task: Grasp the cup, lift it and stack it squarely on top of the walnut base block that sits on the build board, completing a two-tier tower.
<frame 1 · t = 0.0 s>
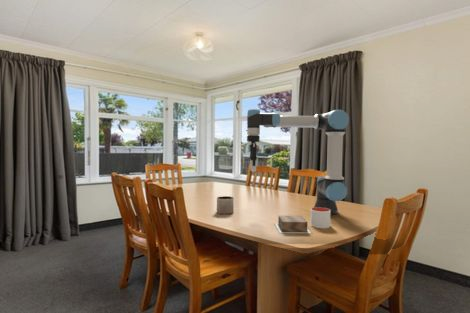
hand: (252, 170, 166), 28 cm above the table, fingers open, 13 cm apart
planter: (225, 212, 176), on the table
base block: (292, 228, 138), point 1 cm above the table, touching build board
cup: (320, 228, 144), on the table
build board: (292, 231, 138), on the table
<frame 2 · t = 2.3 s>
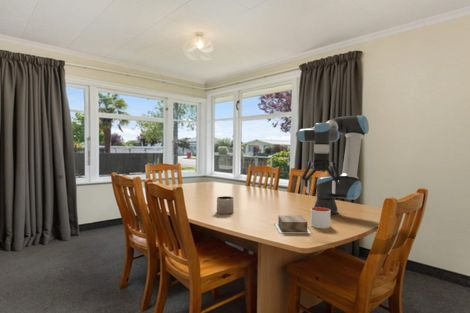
hand: (320, 193, 143), 18 cm above the table, fingers open, 13 cm apart
nothing on the table moved.
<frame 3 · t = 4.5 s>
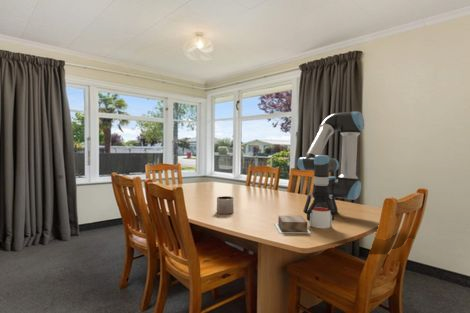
hand: (320, 226, 144), 1 cm above the table, fingers closed on cup, 10 cm apart
cup: (320, 228, 144), on the table, touching gripper
everything else where it was.
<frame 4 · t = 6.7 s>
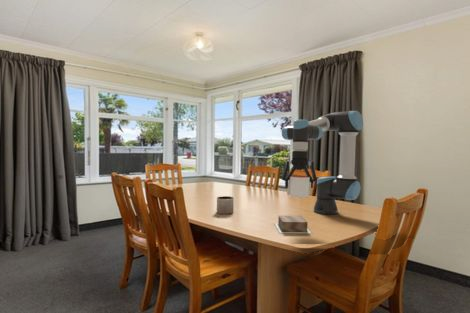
hand: (298, 194, 138), 19 cm above the table, fingers closed on cup, 10 cm apart
cup: (298, 196, 138), point 18 cm above the table, touching gripper
everything else where it was.
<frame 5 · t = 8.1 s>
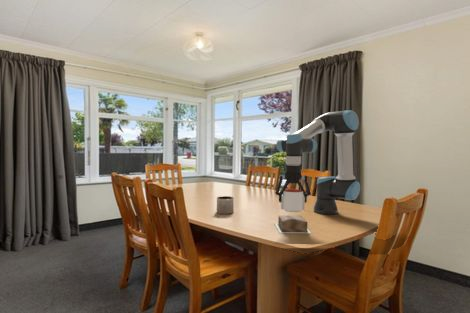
hand: (292, 208, 138), 11 cm above the table, fingers closed on cup, 10 cm apart
cup: (292, 210, 138), point 10 cm above the table, touching gripper
everything else where it was.
when the fingers open (9 cm above the table, at t = 9.2 s): cup drops 1 cm, resting on base block.
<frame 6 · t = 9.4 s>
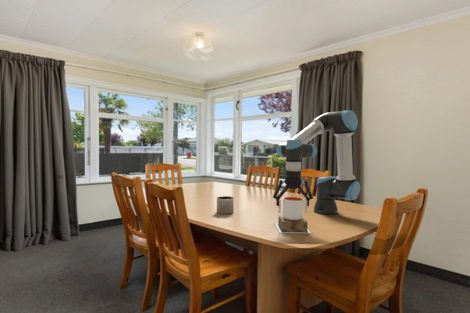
hand: (292, 212, 138), 10 cm above the table, fingers open, 12 cm apart
base block: (292, 228, 138), point 1 cm above the table, touching build board, cup
cup: (292, 218, 138), point 6 cm above the table, touching base block
everything else where it was.
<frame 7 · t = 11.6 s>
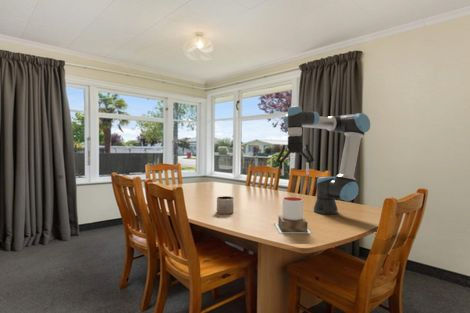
hand: (295, 174, 149), 27 cm above the table, fingers open, 13 cm apart
nothing on the table moved.
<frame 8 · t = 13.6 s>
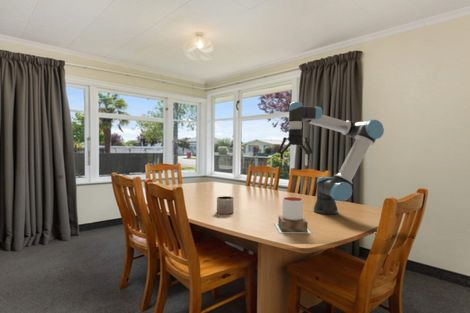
hand: (294, 165, 161), 32 cm above the table, fingers open, 13 cm apart
nothing on the table moved.
at the end: cup inside the target area on the base block (0.1 cm from its centre), point 4.8 cm above the base block's base; cup tilted 0°; the gripper is holding nothing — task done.
